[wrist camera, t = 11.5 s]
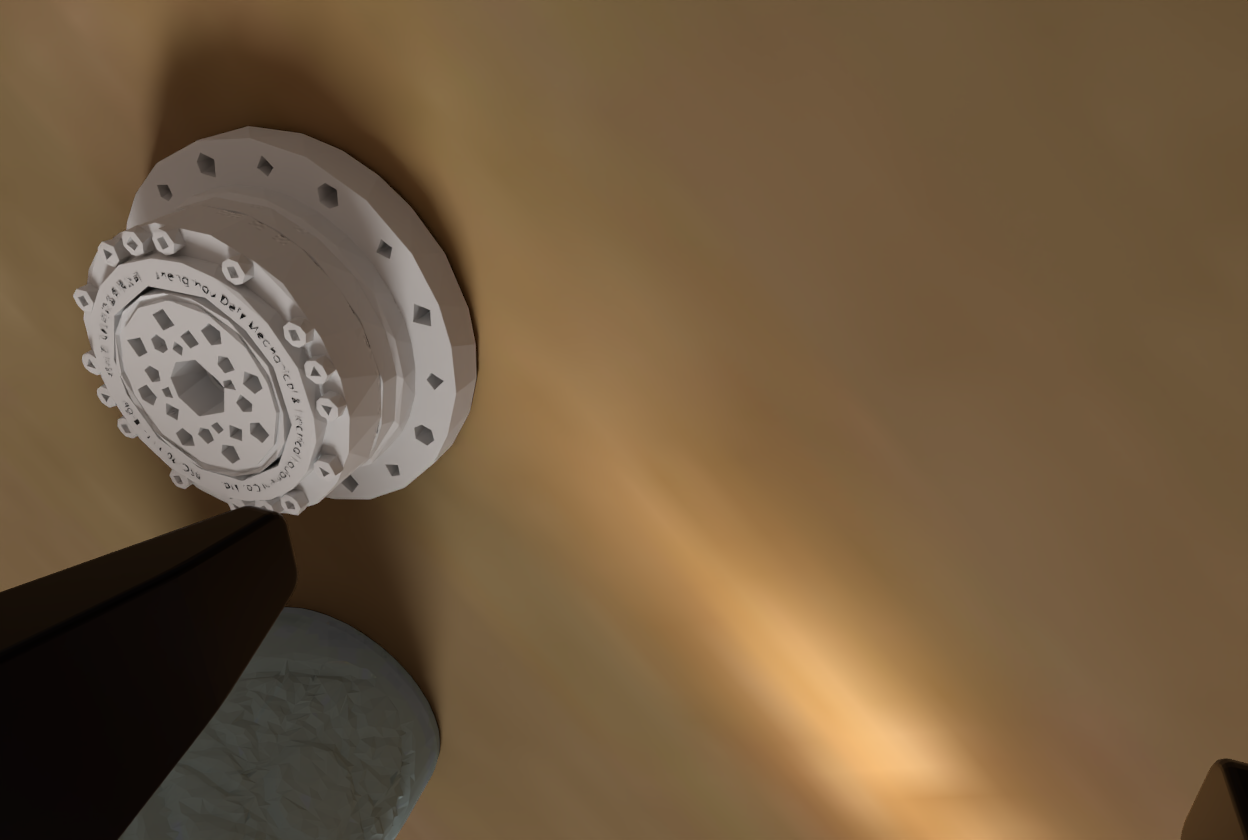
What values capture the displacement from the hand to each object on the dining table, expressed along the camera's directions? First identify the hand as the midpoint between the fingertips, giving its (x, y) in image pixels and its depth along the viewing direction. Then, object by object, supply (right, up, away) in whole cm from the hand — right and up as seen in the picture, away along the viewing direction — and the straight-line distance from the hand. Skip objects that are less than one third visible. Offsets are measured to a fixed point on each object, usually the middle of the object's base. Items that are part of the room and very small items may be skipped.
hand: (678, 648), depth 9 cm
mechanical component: (-9, +5, +16) cm, 19 cm away
